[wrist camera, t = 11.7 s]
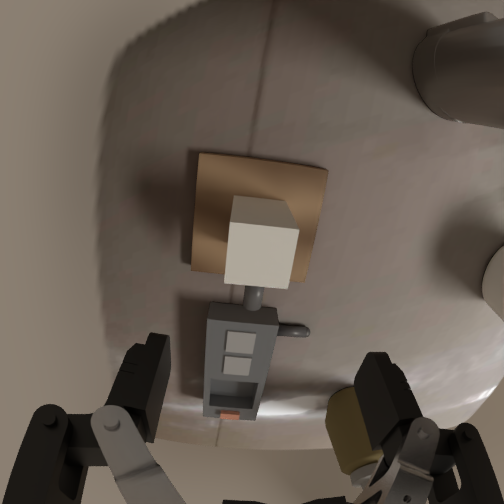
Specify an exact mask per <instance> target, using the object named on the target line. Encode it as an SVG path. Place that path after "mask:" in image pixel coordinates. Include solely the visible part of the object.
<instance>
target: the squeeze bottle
mask: <svg viewBox="0 0 504 504" xmlns="http://www.w3.org/2000/svg"><path fill="white" fill-rule="evenodd" d="M325 424H326V429H327V431H328V434H329V437H330V440H331V443H332V446H333V448H334V451H335V454H336V457H337V460H338V462H339V466H340V468H341V471H342V472H343V473H345V474H347V475H350V478H351V482H352V486H354V487H362V489H363V490H364V488H365V486H366V485H367V483H368V481H369V479H370V477H371V475H372V473H373V471H374V469H375V467H376V465H377V463H378V461H379V459H380V457H381V456H382V455H383V451H382V450H375V451H372V448H371V444H370V441H369V437H368V433H367V430H366V426H365V423H364V419H363V416H362V413H361V409H360V406H359V403H358V399H357V396H356V393H355V389H354V387H349V388H345V389H342V390H340V391H338V392H336V393H335V394H334V395H333V396H332V397H331V398H330V400H329V402H328V407H327V413H326V419H325Z"/></svg>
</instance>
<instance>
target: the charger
mask: <svg viewBox="0 0 504 504" xmlns="http://www.w3.org/2000/svg"><path fill="white" fill-rule="evenodd" d="M298 235H299V228H298V226H297V223H296V221H295V219H294V217H293V215H292V213H291V211H290V208H289V206H288V204H287V202H286V201H281V200H272V199H264V198H255V197H246V196H237V195H234V198H233V205H232V211H231V218H230V226H229V236H228V247H227V257H226V268H225V279H224V283H228V284H238V285H245V292H244V299H243V307H244V308H245V309H247V310H250V311H256V310H259V309H260V308H261V304H262V298H263V292H264V287H270V288H282V289H288V285H289V280H290V275H291V271H292V266H293V261H294V255H295V250H296V245H297V240H298Z"/></svg>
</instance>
